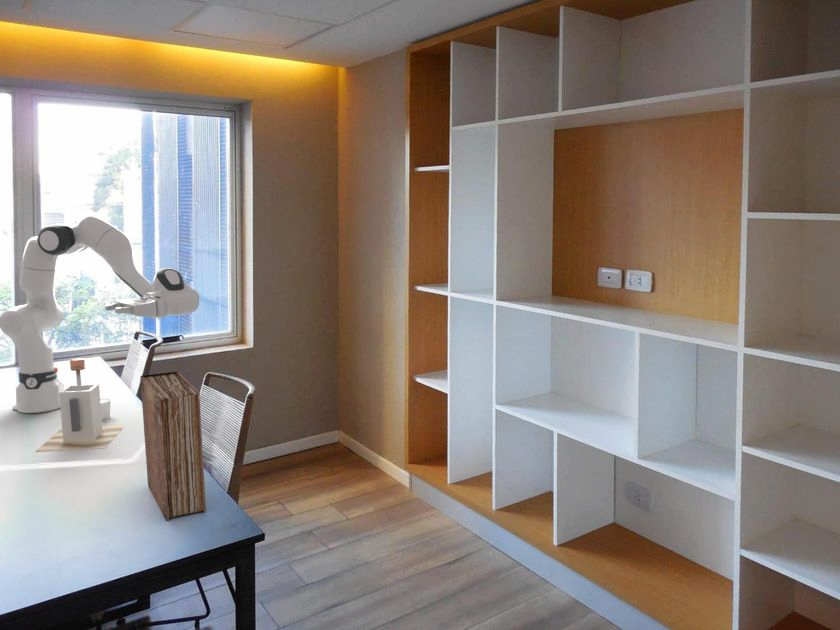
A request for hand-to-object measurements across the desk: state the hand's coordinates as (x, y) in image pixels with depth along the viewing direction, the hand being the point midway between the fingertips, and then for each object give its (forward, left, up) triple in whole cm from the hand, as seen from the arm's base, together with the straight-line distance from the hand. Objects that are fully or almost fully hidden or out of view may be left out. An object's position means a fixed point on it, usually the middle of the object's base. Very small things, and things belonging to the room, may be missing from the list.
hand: (110, 309), depth 230 cm
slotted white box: (+15, -7, -39) cm, 42 cm away
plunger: (+13, -7, -37) cm, 40 cm away
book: (+65, +30, -40) cm, 82 cm away
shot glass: (-9, -8, -40) cm, 42 cm away
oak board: (+13, -7, -40) cm, 43 cm away
